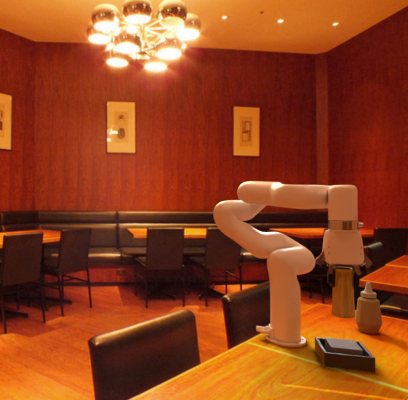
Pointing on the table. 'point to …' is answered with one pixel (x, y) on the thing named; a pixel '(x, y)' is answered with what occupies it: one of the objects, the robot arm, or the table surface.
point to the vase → (343, 293)
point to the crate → (345, 358)
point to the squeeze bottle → (368, 311)
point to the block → (342, 346)
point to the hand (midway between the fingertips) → (343, 286)
